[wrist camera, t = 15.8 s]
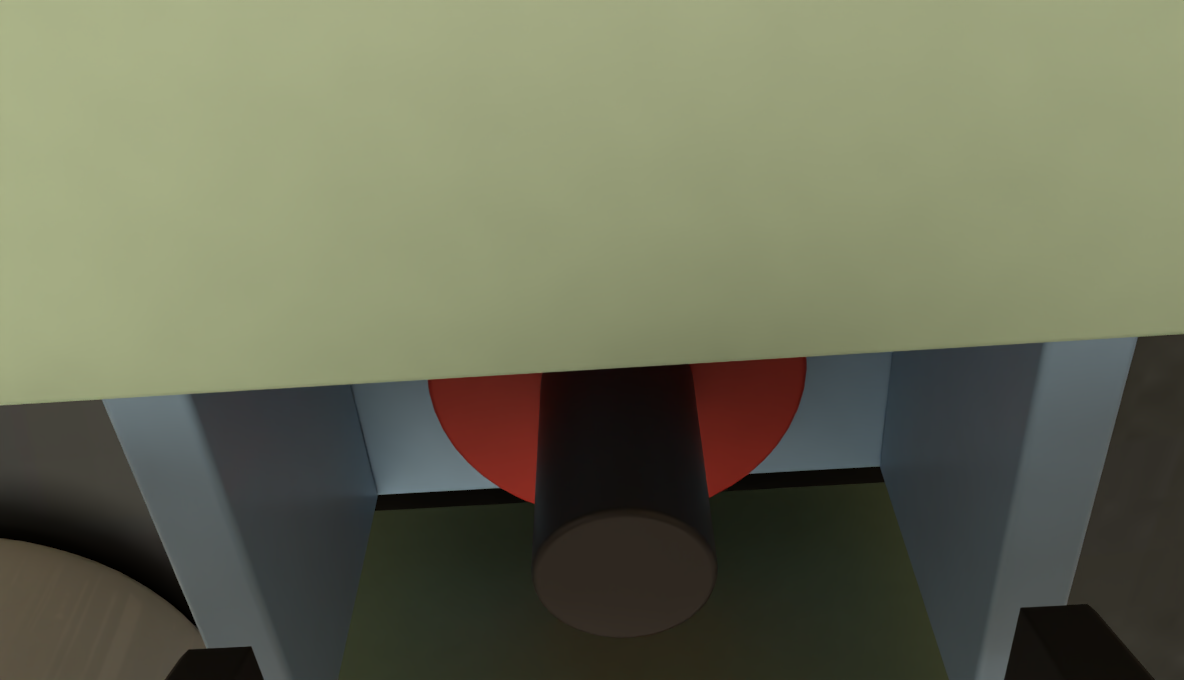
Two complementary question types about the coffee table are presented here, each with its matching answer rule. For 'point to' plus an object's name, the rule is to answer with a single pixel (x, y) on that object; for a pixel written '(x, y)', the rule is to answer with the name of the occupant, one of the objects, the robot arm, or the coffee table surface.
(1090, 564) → the coffee table surface
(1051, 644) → the robot arm
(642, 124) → the green drawer cabinet
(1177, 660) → the coffee table surface
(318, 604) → the drawer
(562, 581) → the lid
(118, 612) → the ramekin
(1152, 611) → the coffee table surface
